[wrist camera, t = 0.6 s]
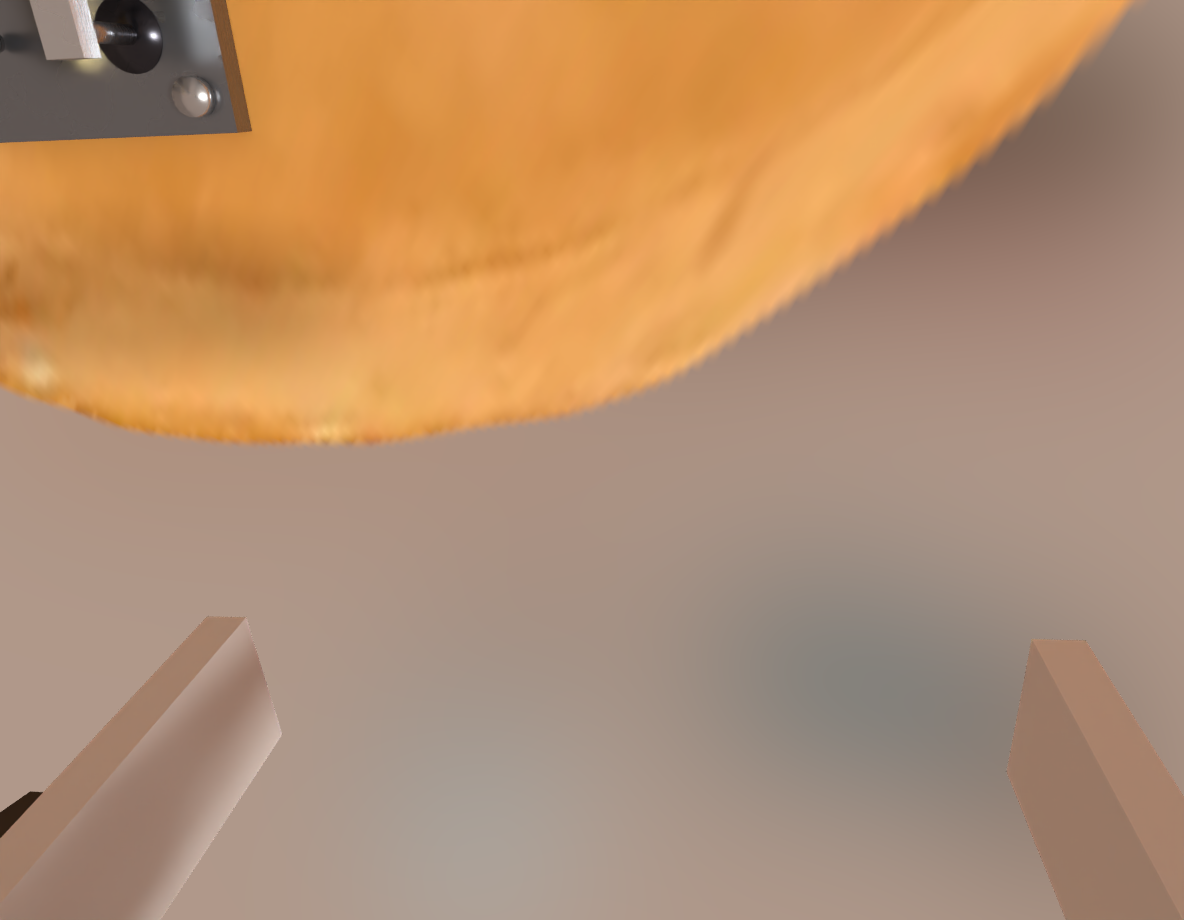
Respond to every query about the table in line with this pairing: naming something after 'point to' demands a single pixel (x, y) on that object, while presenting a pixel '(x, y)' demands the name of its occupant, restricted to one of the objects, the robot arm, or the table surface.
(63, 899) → the robot arm
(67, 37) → the grey long bar piece
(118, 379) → the table surface
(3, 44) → the sliding leg
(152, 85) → the bolt plate
